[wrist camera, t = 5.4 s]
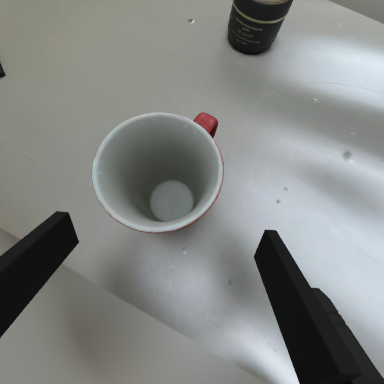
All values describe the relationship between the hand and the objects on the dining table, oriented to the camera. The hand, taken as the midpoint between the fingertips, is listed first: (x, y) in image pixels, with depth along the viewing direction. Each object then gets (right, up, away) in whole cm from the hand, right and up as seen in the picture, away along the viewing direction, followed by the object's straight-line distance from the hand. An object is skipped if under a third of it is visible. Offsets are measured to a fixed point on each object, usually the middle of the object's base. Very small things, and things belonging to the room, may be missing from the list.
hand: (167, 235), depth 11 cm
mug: (0, +3, +13) cm, 14 cm away
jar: (+14, +35, +23) cm, 44 cm away
